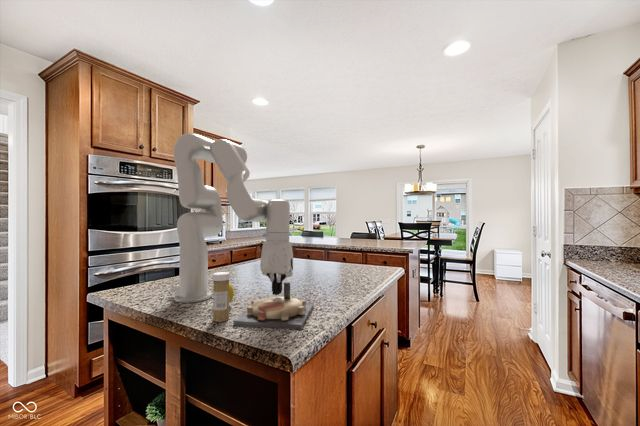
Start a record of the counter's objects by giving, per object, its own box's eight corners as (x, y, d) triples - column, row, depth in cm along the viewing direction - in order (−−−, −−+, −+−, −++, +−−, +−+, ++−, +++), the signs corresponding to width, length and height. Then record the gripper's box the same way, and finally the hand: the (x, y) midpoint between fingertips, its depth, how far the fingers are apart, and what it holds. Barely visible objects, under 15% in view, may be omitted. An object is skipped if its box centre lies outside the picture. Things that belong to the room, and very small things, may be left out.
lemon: (225, 309, 89) (225, 284, 89) (212, 307, 91) (212, 282, 92) (237, 304, 94) (237, 281, 94) (224, 302, 96) (224, 279, 97)
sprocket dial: (234, 315, 79) (234, 291, 79) (268, 299, 95) (268, 278, 95) (289, 324, 72) (289, 297, 72) (315, 305, 89) (315, 283, 89)
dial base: (233, 325, 76) (233, 320, 76) (258, 304, 95) (258, 300, 95) (301, 329, 73) (301, 324, 73) (313, 307, 92) (313, 303, 92)
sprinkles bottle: (231, 316, 82) (231, 271, 83) (226, 322, 78) (226, 274, 78) (216, 316, 82) (216, 271, 83) (209, 322, 78) (210, 274, 78)
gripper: (251, 237, 90) (250, 294, 89) (294, 239, 85) (293, 299, 84) (263, 236, 97) (262, 289, 96) (303, 237, 92) (302, 293, 91)
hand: (276, 293), depth 90 cm, fingers closed
